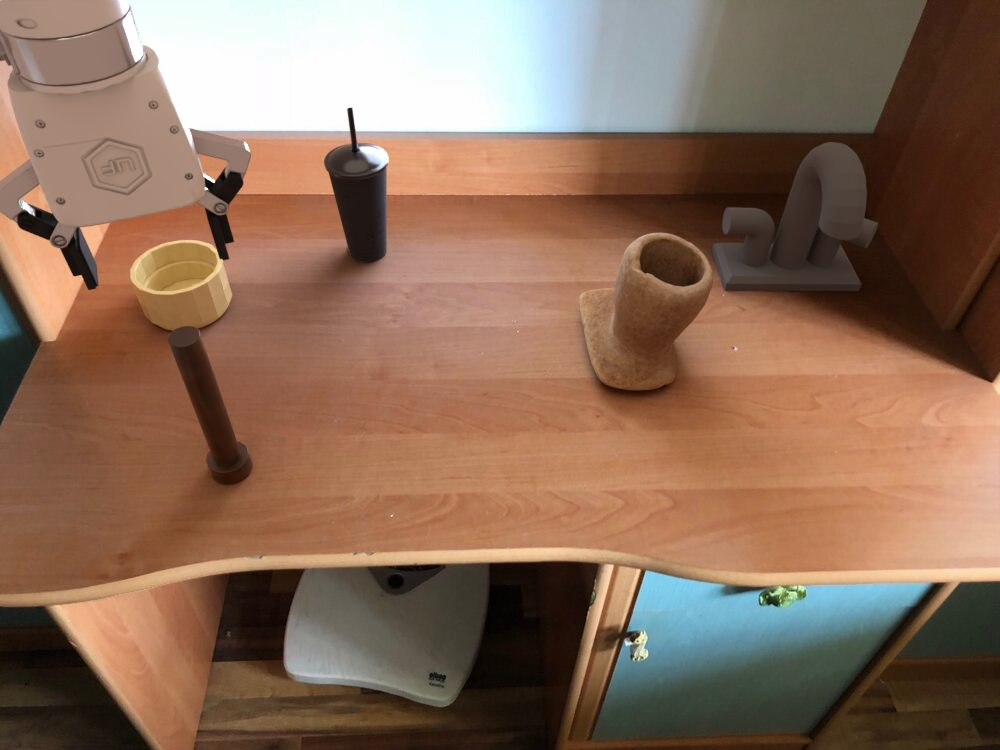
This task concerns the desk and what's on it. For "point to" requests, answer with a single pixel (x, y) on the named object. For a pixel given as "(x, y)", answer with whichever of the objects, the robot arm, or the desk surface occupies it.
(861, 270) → the desk surface
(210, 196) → the robot arm
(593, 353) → the stone cup
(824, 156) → the faucet
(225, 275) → the bowl
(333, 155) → the drinking cup
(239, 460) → the stirrer
